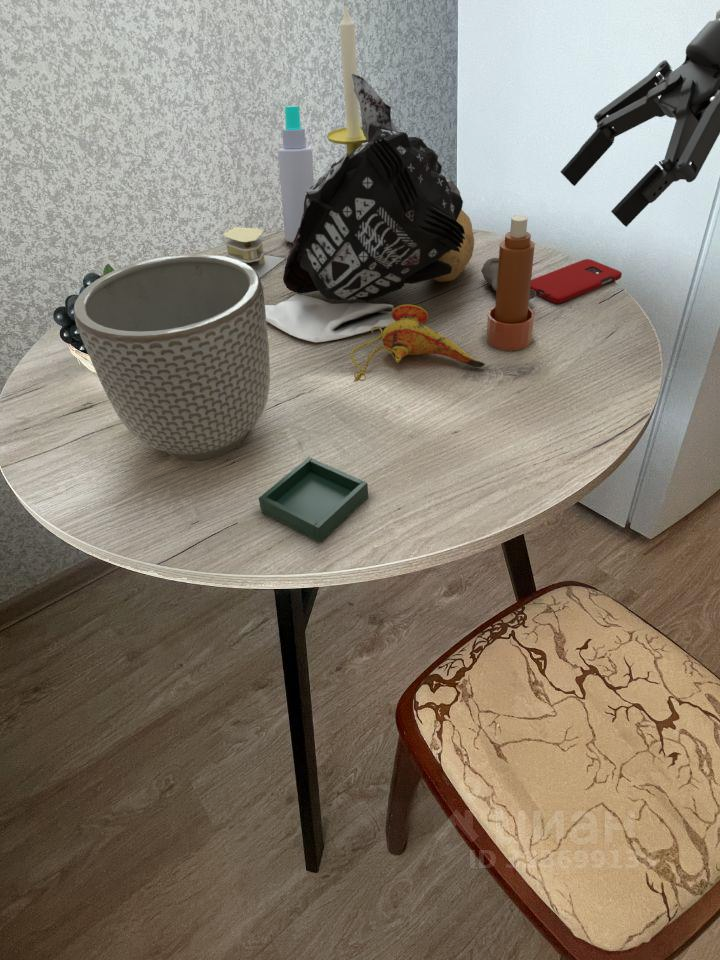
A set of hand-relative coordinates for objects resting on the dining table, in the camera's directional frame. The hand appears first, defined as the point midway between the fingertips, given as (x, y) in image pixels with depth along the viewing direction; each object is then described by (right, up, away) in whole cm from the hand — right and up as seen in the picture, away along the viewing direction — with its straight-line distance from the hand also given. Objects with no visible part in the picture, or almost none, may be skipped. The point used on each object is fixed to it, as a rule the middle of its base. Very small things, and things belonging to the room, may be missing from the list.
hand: (591, 198), depth 87 cm
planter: (-48, -30, -1) cm, 56 cm away
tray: (-34, -38, -12) cm, 52 cm away
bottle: (-8, -15, +11) cm, 20 cm away
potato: (-15, -1, +29) cm, 32 cm away
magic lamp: (-20, -12, +9) cm, 25 cm away
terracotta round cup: (-8, -15, +12) cm, 21 cm away
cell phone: (+5, -3, +23) cm, 24 cm away
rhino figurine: (-2, -4, +22) cm, 22 cm away
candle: (-29, +4, +36) cm, 46 cm away
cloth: (-33, -11, +19) cm, 40 cm away
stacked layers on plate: (-49, +3, +37) cm, 61 cm away
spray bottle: (-40, +9, +43) cm, 60 cm away
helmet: (-38, -8, +20) cm, 44 cm away
